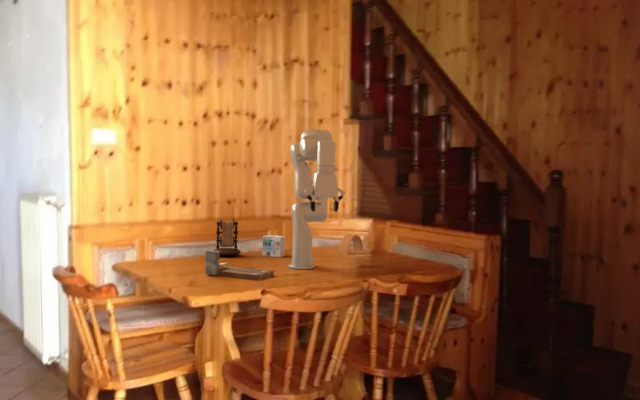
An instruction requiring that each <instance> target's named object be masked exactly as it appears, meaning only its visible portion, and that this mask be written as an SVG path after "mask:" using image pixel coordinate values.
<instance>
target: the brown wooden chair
mask: <svg viewBox="0 0 640 400" xmlns="http://www.w3.org/2000/svg"><path fill="white" fill-rule="evenodd" d="M238 225H239V223H238V221H235V218H234V217H233V218H232V221H230V220H227V221H226V220H225V221H222V218H220V219H219V221H216V232H215V233H216V241H215V242H216V247H215V249H214V250H212V251H219V258H220V256H235V257H236V258H238V256H239V255H240V254H241V253H242V251H241V250H240V249H239V248H238V240H239V239H238V233H239V230H238V229H239V228H238ZM233 247H234V248H233Z"/></svg>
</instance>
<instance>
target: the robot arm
mask: <svg viewBox="0 0 640 400" xmlns="http://www.w3.org/2000/svg"><path fill="white" fill-rule="evenodd" d="M289 154H290V155H289V157H290V159H291V163H292V166H293V170H294V174H293V175H294V177H293V178H294V180H293V181H294V183H293V184H294V187H293V189H294V192H293V193H294V196H295V198H296V199H298V200H308V201H298V202H295V203H294V204H292V205H291V209H290V213H291V221H292V235H291V236H292V239H291V240H292V243H291V263H289V264H288V268H290V269H296V270H312V269H315V264H313V263H312V262H315V258H314V257H313V256H312V255H313V229H312V228H311V226H310V225H309V224H308V223H310V222H311V223H323V222H326V220H327V219H328V214H329V213H328V211H329V210H328V207H329V206H328V203H329V202H328V198H331V199H332V198H333V200H334V201H333V212H338V211H339V205H340V204H339V203H340V201H341V200H343V198H344V196H345V194H346V191H344V190H343V189H341V188H340V187H338V178H337V173H336V172H338V171H339V168H338V167H336V165H335V164H336V142H335V141H334V140H333V135H332V132H331V131H330V130H328V129H313V128H312V129H306V130H303V132H302V133H301V135H300V141H299V142H296V143H293V144H292V145H291V146H290V149H289ZM310 161H311V162H312V161H313V162H316V172H314V174H313V169H312V167H311V166H310V164H309V163H308V162H310ZM338 193H340V195H338ZM316 201H317V202H316Z"/></svg>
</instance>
